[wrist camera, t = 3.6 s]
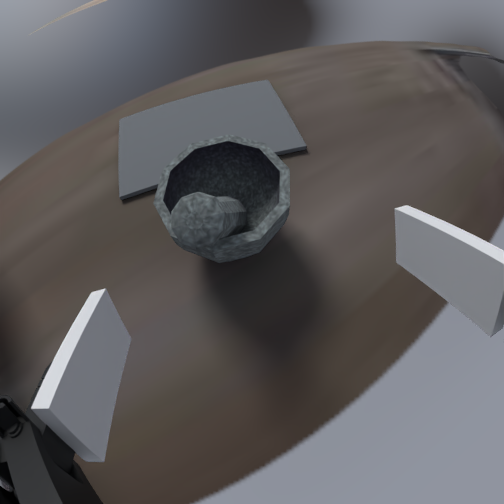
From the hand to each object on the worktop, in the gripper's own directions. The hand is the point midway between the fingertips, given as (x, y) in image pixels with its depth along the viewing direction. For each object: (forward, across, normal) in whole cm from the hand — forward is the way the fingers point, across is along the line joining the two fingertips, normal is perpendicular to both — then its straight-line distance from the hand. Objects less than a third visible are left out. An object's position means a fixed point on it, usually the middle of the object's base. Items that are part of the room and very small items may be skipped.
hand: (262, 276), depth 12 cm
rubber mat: (+24, -1, +7) cm, 25 cm away
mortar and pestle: (+14, -1, -3) cm, 15 cm away
